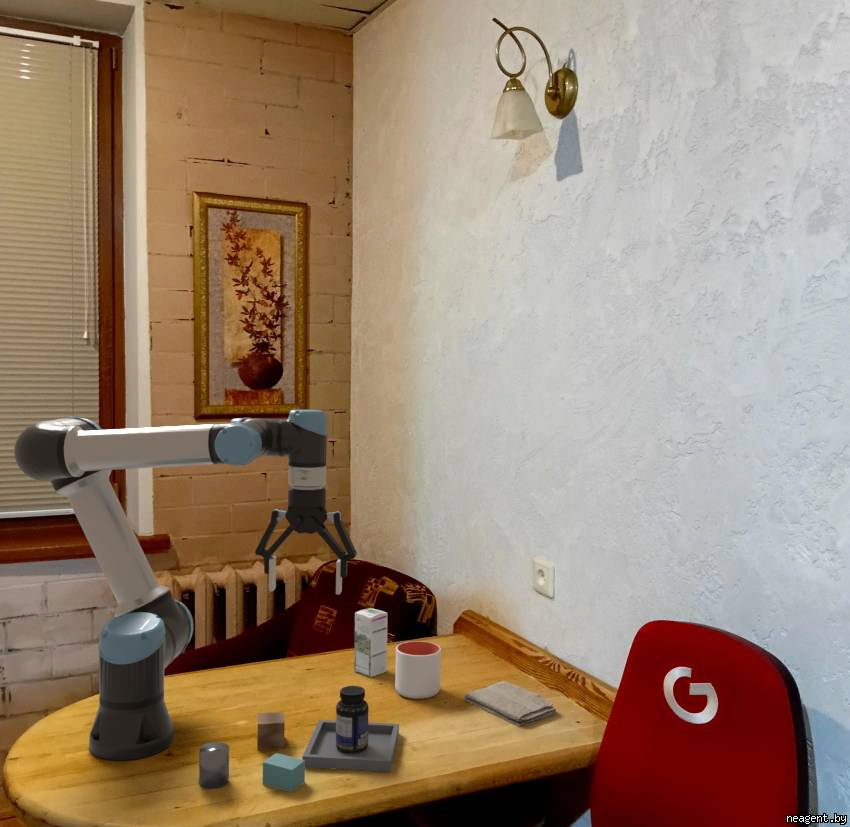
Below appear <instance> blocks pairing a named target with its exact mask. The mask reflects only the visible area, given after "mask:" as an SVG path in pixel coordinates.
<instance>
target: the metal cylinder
mask: <svg viewBox="0 0 850 827" xmlns="http://www.w3.org/2000/svg"><path fill="white" fill-rule="evenodd" d="M198 753H199V754H198V755H199V757H198V758H199V760H198V762H199V764H198V766H199V768H198V781H199V782H198V785H199V786H200V787H201V788H203V789H206V790H216V789H221V788H223V787H225V786H227V785H228V784H229V782H230V745H229V744H228V743H226V742H222V741H212V742H207V743H205V744H203V745H201V746H200V747H199V752H198Z"/></svg>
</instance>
